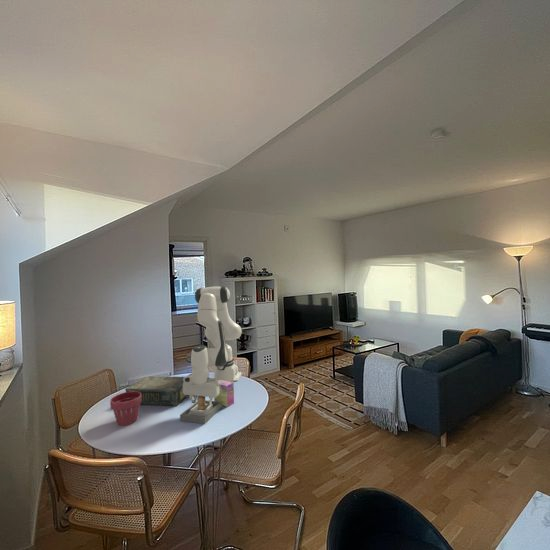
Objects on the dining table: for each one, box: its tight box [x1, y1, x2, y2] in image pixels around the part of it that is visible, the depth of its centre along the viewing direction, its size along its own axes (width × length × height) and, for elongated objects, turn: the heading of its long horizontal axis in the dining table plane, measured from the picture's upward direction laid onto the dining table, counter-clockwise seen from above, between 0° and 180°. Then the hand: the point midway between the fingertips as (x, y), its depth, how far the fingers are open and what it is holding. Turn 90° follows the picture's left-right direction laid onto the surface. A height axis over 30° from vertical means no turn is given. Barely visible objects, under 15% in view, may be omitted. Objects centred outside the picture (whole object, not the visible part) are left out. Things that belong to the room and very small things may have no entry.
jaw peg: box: [196, 396, 206, 410], centre depth 152 cm, size 4×4×8 cm
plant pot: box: [109, 391, 142, 427], centre depth 147 cm, size 14×14×13 cm
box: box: [213, 380, 235, 408], centre depth 164 cm, size 10×6×12 cm, turn 56°
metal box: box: [124, 375, 189, 407], centre depth 175 cm, size 21×32×10 cm, turn 79°
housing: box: [179, 399, 223, 425], centre depth 152 cm, size 18×14×4 cm
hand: (201, 403), depth 152 cm, fingers open, 8 cm apart
